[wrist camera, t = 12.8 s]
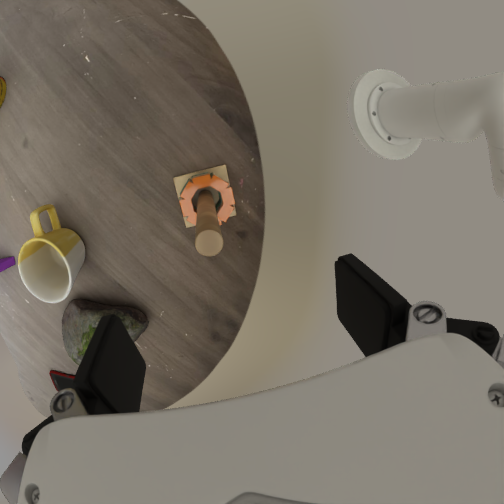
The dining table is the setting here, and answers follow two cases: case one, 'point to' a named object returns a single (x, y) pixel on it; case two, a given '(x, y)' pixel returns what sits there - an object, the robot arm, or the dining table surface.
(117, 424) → the robot arm
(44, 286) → the mug
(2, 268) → the purple flat block
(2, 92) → the beverage can
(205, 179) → the orange ring
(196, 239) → the post
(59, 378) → the cell phone
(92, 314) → the stone
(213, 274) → the dining table surface
